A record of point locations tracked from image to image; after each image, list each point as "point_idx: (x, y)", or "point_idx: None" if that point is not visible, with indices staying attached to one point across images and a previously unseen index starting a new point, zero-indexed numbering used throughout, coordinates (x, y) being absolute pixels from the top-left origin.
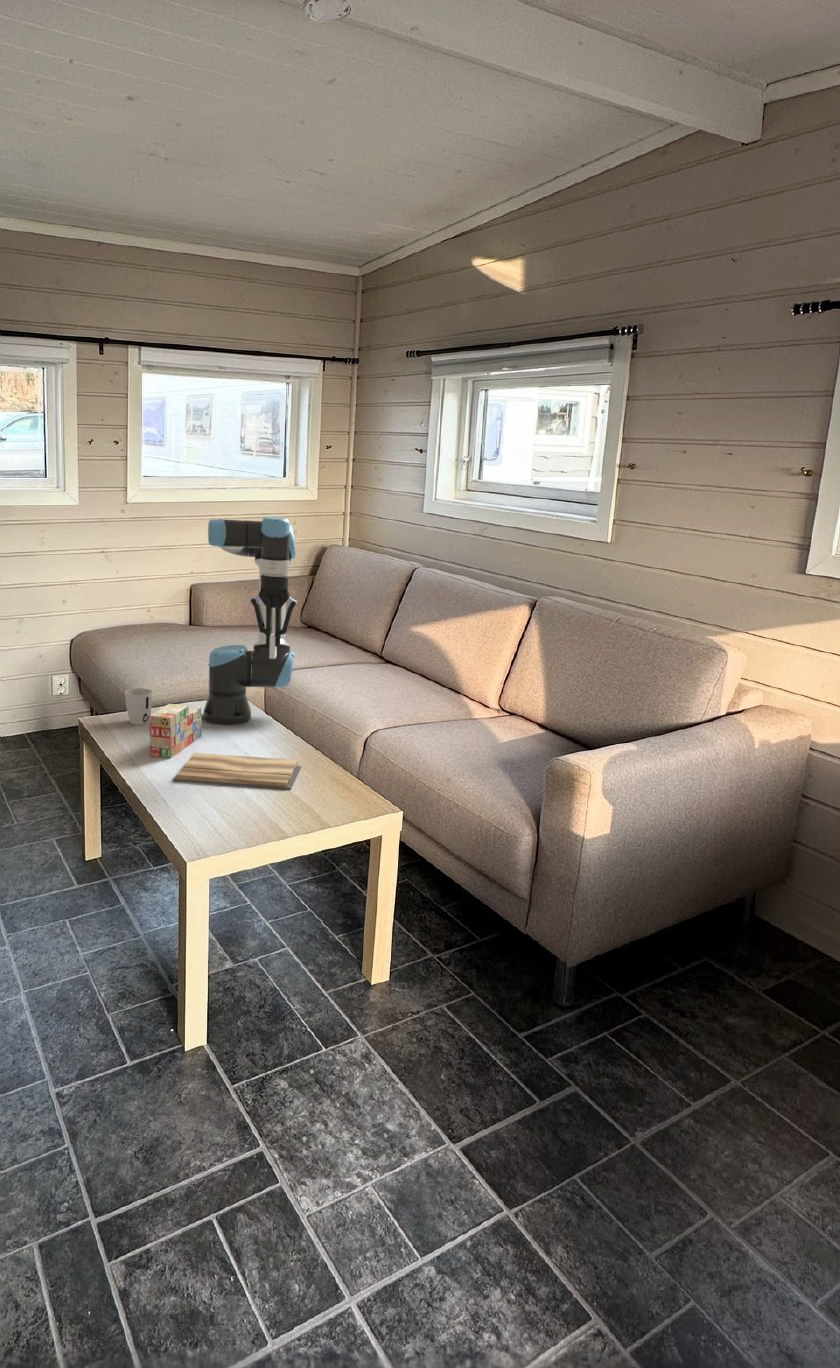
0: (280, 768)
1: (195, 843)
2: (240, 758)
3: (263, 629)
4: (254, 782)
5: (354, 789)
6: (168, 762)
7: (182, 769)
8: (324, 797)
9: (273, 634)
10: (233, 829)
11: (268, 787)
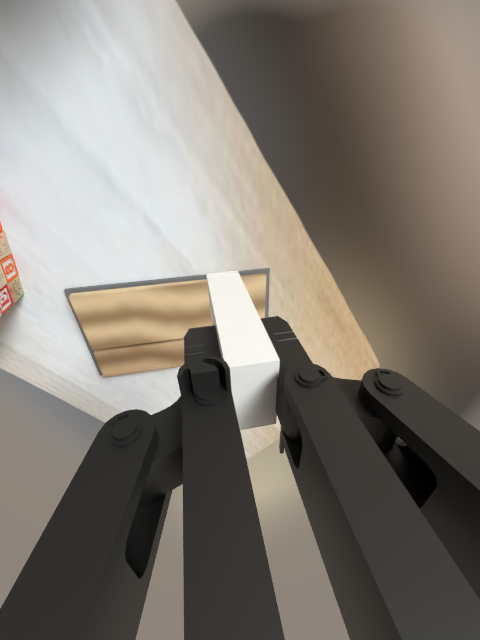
0: None
1: None
2: (166, 296)
3: (169, 498)
4: None
5: (346, 323)
6: (36, 312)
7: (97, 359)
8: (309, 356)
9: (249, 381)
10: None
11: None
